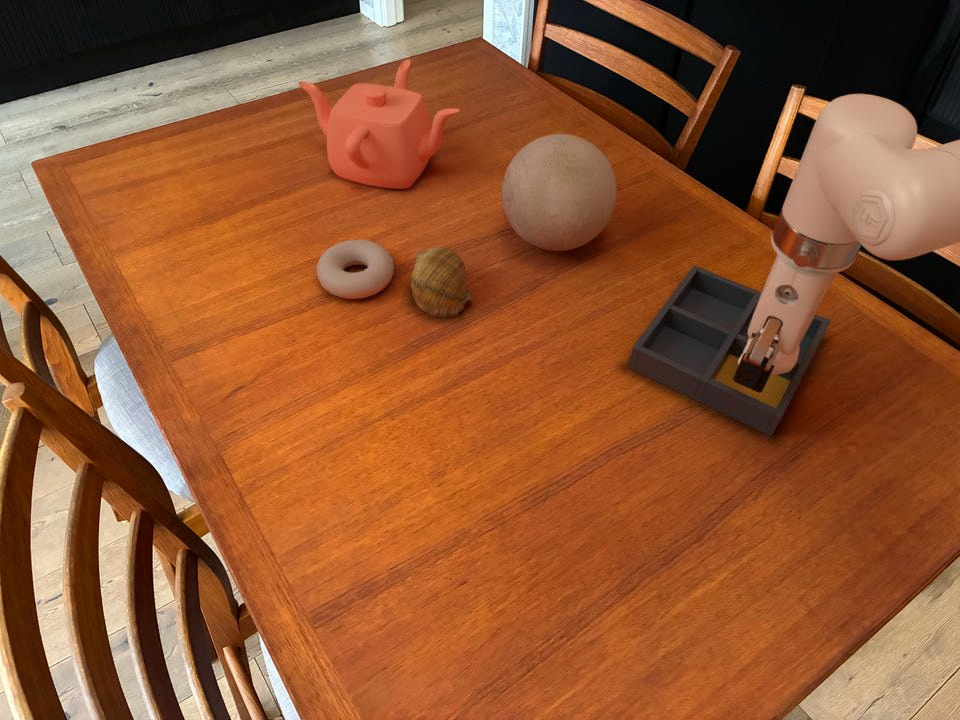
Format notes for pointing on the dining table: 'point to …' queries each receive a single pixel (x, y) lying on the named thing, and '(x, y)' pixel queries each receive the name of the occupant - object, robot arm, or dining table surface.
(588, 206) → the decorative sphere
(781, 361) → the garlic bulb
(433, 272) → the seashell
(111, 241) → the dining table surface
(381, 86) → the pot
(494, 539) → the dining table surface
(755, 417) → the grid
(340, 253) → the donut
